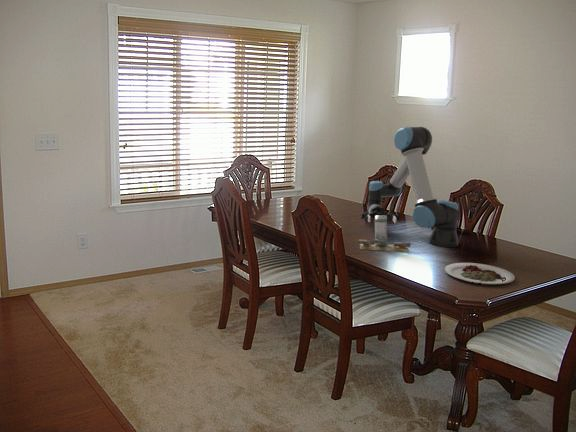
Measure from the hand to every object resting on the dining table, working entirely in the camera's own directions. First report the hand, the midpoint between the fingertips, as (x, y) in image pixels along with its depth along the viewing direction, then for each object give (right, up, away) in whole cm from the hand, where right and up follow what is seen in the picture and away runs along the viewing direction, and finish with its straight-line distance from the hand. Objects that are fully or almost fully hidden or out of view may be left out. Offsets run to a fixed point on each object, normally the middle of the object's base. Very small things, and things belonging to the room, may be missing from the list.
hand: (382, 220), depth 320 cm
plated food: (+36, -25, -45) cm, 63 cm away
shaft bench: (-1, -14, -7) cm, 16 cm away
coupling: (-2, -13, -7) cm, 14 cm away
